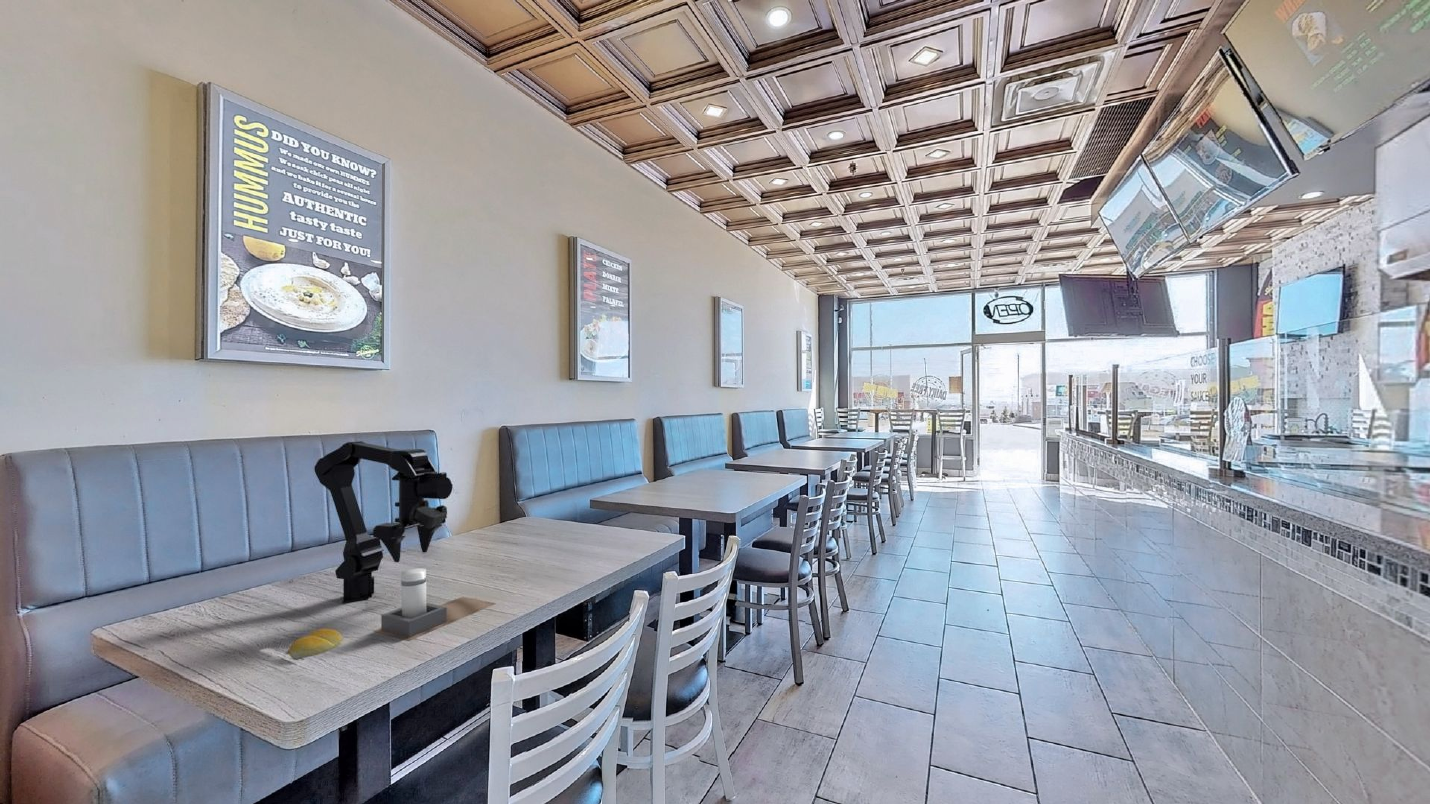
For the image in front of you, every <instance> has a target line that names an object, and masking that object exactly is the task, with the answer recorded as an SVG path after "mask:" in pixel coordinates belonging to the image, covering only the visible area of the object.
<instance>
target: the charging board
mask: <svg viewBox="0 0 1430 804" xmlns="http://www.w3.org/2000/svg"><path fill="white" fill-rule="evenodd" d="M496 604H497V603H496V602H490V601H487V600H482V599H481V600H480V599H477V598H472V597H467V596H460V597H457V598H455V599H453V600H450V601H447V602H445V603H443V604H440V605H439V604H438V605H439V606H443V607H447V622H446V623H443V624H441V625H439V626H436V627H434V628H431V629H429V630H427V631H424V632H422V633H420V634H417V635H415V636H413V637H410V638H408V637H404V636H400V635H397V634H393V633H389V632H386V631H382V630H381V627H380V628H378V629H374V630H373V632H375V633H379V634H382V635H386V636H389V637H393V638H396V639H400V640H404V641H407V642H410V641H412V640H413V641H414V640H415V639H417V638H419V637H422V636H424V635H426V634H428V633H430V632H431V633H432V632H433V631H436V630H438V629H440V628H443V627H444V626H448V625H450V624H453V623H454V622H457V621H459V620H461V619H464V618H465V617H468V616H471V615H473V614H475V613H477V612H480V611H482V610H484V609H487V608H489V607H492V606H494V605H496Z"/></svg>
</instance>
